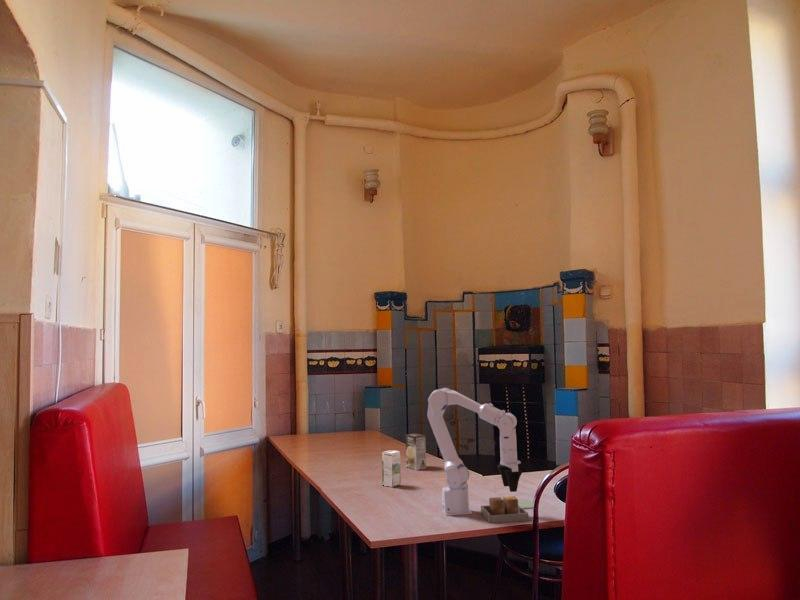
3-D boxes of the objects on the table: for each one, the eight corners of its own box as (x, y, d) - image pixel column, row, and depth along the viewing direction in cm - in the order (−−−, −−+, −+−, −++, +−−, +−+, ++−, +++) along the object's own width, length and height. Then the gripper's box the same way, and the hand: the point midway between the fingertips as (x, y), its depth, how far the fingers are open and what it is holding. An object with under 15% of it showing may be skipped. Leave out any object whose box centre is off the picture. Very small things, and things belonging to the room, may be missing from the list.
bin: (490, 523, 195) (489, 515, 195) (481, 513, 207) (480, 505, 207) (528, 521, 196) (528, 513, 196) (517, 511, 208) (517, 503, 209)
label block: (507, 518, 200) (506, 499, 200) (503, 514, 204) (503, 496, 204) (518, 517, 200) (517, 499, 201) (515, 514, 204) (514, 496, 205)
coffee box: (405, 467, 288) (404, 434, 289) (416, 465, 291) (415, 433, 293) (416, 470, 280) (415, 436, 281) (427, 468, 284) (426, 435, 285)
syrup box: (390, 483, 256) (389, 449, 257) (401, 485, 252) (400, 450, 253) (382, 486, 251) (381, 451, 252) (392, 487, 247) (391, 453, 249)
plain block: (492, 518, 199) (492, 500, 200) (489, 515, 203) (489, 497, 204) (504, 518, 200) (503, 500, 200) (501, 514, 204) (500, 497, 204)
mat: (513, 510, 210) (513, 508, 210) (506, 503, 219) (506, 501, 219) (537, 508, 211) (537, 506, 211) (529, 502, 220) (529, 500, 220)
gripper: (526, 451, 197) (528, 493, 196) (513, 444, 211) (515, 483, 210) (505, 453, 196) (507, 494, 195) (494, 445, 211) (495, 484, 209)
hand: (510, 488), depth 203 cm, fingers open, 7 cm apart
